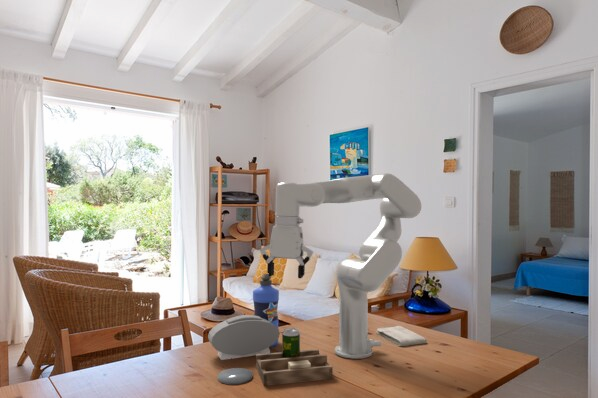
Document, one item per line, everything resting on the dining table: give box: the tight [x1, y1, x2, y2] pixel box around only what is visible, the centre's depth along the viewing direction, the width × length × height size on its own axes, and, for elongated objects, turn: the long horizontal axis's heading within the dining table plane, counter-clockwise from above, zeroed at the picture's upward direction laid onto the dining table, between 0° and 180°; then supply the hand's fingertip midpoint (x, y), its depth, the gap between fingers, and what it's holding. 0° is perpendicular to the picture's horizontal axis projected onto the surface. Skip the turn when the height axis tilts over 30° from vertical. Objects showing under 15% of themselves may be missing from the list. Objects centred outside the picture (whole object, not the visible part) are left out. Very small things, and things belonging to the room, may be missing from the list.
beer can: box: [281, 327, 301, 358], centre depth 132 cm, size 5×5×12 cm
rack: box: [255, 348, 333, 387], centre depth 129 cm, size 20×14×5 cm
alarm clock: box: [207, 314, 281, 361], centre depth 145 cm, size 23×6×13 cm, turn 113°
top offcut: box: [288, 360, 311, 369], centre depth 125 cm, size 6×3×2 cm, turn 105°
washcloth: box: [375, 325, 427, 347], centre depth 163 cm, size 12×18×3 cm, turn 21°
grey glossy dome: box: [217, 367, 254, 385], centre depth 126 cm, size 10×10×1 cm
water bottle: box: [252, 273, 280, 349], centre depth 157 cm, size 9×9×25 cm
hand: (285, 276), depth 136 cm, fingers open, 9 cm apart
